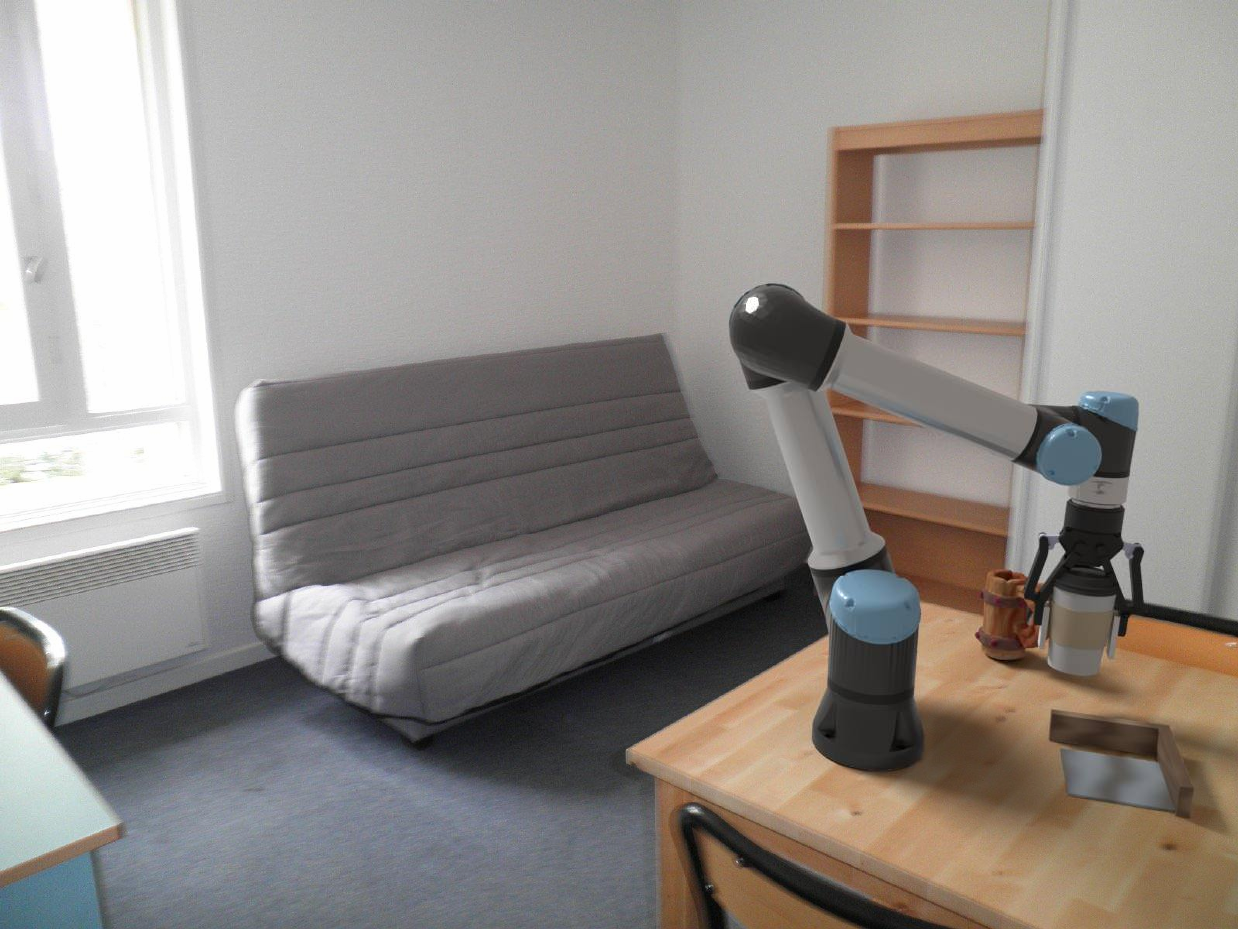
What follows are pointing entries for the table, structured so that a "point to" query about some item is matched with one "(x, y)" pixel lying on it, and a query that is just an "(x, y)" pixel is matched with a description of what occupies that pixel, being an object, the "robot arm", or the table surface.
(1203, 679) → the table surface
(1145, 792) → the arena
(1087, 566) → the coffee cup
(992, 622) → the mug
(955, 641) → the table surface
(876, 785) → the table surface
